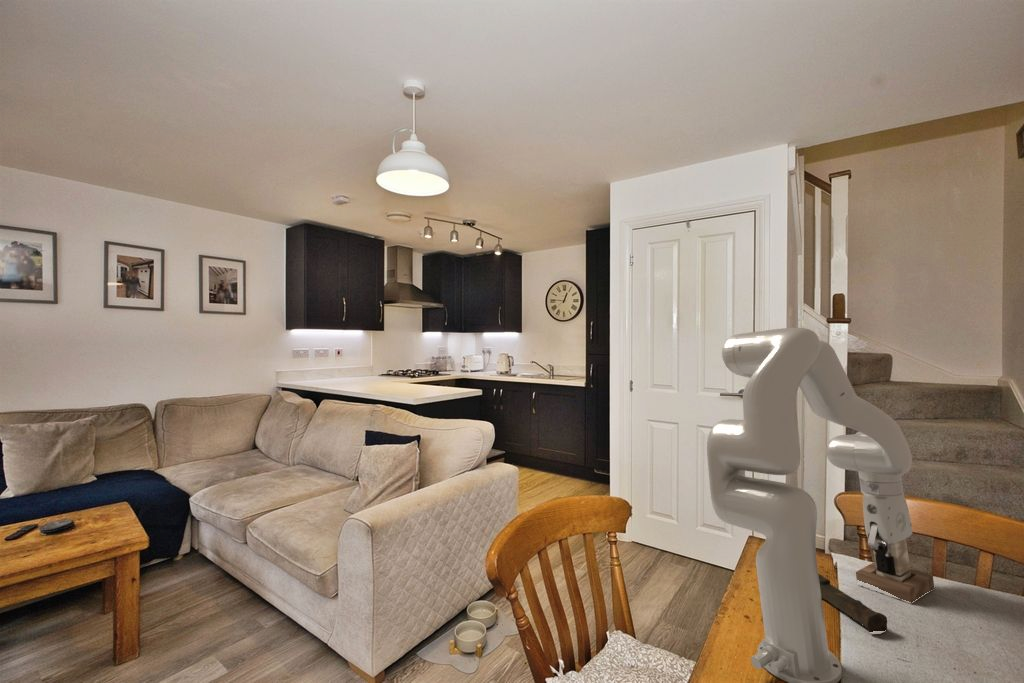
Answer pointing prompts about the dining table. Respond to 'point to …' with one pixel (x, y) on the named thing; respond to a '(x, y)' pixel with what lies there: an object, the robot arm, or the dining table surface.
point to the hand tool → (852, 607)
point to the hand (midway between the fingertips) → (892, 568)
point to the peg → (897, 562)
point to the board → (898, 583)
